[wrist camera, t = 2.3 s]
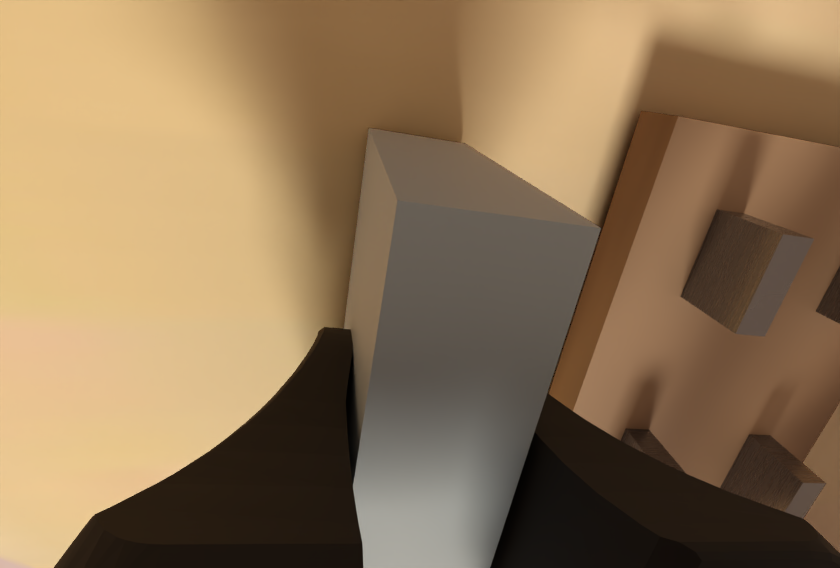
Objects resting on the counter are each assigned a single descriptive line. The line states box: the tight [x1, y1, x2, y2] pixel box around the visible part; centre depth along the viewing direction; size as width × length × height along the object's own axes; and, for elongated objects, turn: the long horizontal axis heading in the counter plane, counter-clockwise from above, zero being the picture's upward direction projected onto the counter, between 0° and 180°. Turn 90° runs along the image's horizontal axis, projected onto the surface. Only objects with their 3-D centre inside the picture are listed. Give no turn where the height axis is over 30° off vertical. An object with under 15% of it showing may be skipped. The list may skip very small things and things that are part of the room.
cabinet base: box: [549, 111, 840, 488], centre depth 15 cm, size 9×12×2 cm
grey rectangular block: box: [344, 128, 601, 568], centre depth 11 cm, size 3×10×7 cm, turn 170°
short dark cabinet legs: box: [621, 209, 840, 518], centre depth 13 cm, size 5×9×2 cm, turn 170°
